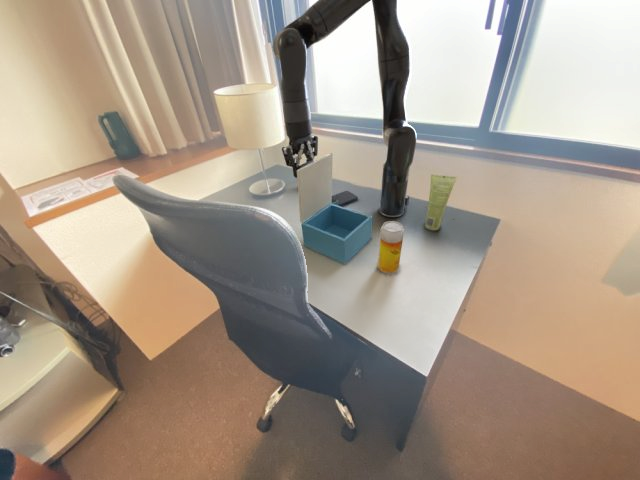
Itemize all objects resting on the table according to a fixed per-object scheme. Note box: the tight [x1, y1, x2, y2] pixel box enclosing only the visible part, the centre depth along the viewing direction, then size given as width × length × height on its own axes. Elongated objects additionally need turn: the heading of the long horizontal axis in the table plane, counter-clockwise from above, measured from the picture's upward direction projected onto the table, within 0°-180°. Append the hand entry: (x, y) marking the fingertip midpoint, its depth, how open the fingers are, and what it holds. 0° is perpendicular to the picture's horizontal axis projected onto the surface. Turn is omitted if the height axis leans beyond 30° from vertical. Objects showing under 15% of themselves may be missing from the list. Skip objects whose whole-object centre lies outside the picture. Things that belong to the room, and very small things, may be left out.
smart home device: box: [317, 190, 359, 213], centre depth 114 cm, size 8×2×20 cm
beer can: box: [377, 220, 405, 275], centre depth 77 cm, size 6×6×15 cm
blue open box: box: [301, 204, 373, 265], centre depth 91 cm, size 17×16×9 cm
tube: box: [424, 173, 458, 231], centre depth 91 cm, size 6×5×20 cm
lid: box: [296, 152, 333, 224], centre depth 88 cm, size 18×16×5 cm
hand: (304, 174), depth 87 cm, fingers closed on lid, 5 cm apart
